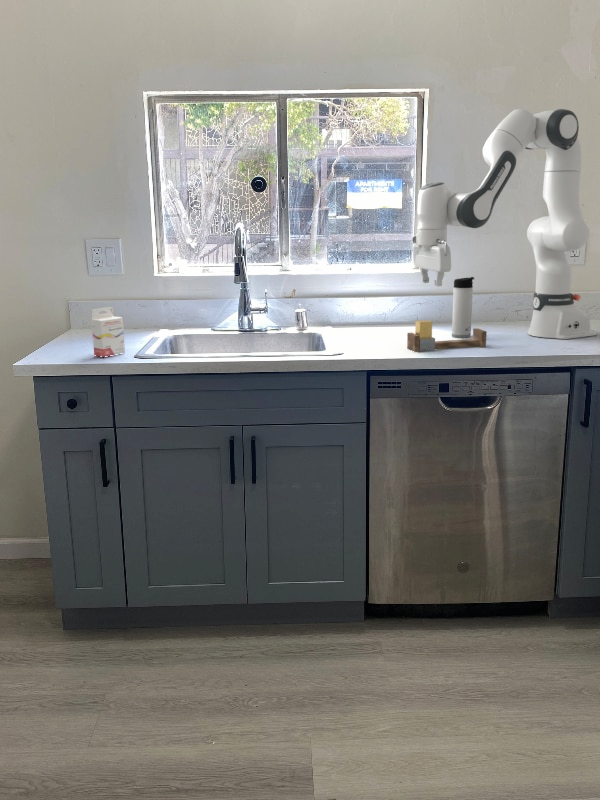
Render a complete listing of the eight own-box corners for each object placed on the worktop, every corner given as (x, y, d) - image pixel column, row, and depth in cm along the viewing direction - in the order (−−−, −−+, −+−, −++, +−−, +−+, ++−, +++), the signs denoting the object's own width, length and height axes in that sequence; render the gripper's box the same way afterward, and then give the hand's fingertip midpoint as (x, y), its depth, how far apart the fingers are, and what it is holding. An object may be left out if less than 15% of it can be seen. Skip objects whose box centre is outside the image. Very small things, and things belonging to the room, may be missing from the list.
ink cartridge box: (103, 358, 225) (99, 310, 221) (93, 356, 228) (89, 309, 224) (126, 353, 231) (122, 307, 227) (116, 352, 234) (112, 306, 230)
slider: (426, 346, 232) (427, 319, 230) (434, 349, 226) (435, 322, 224) (411, 347, 231) (412, 320, 229) (419, 350, 225) (420, 323, 223)
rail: (476, 343, 236) (477, 328, 235) (485, 347, 230) (486, 331, 229) (407, 348, 231) (407, 332, 229) (414, 352, 225) (414, 336, 224)
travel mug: (471, 338, 245) (474, 278, 240) (451, 338, 246) (453, 278, 241) (471, 335, 251) (474, 276, 245) (451, 334, 252) (453, 276, 247)
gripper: (457, 239, 213) (456, 287, 217) (428, 236, 232) (427, 280, 236) (436, 240, 211) (436, 288, 215) (409, 237, 231) (409, 281, 234)
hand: (431, 284), depth 226 cm, fingers open, 8 cm apart
